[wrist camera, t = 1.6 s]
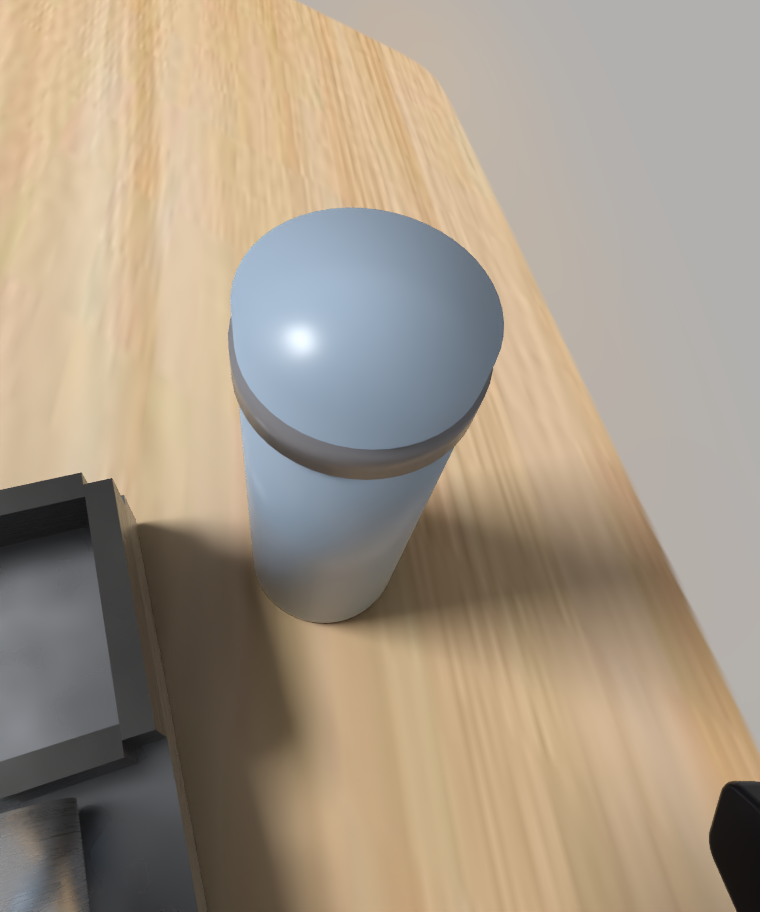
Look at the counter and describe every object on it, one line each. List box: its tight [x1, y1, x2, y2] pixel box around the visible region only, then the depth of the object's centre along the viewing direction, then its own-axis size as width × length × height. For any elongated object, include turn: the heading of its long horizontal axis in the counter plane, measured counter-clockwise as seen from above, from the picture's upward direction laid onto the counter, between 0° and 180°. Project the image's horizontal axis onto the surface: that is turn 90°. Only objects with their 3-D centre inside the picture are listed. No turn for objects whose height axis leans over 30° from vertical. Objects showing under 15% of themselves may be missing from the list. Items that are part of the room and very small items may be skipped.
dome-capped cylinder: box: [228, 208, 504, 623], centre depth 17 cm, size 5×5×13 cm
